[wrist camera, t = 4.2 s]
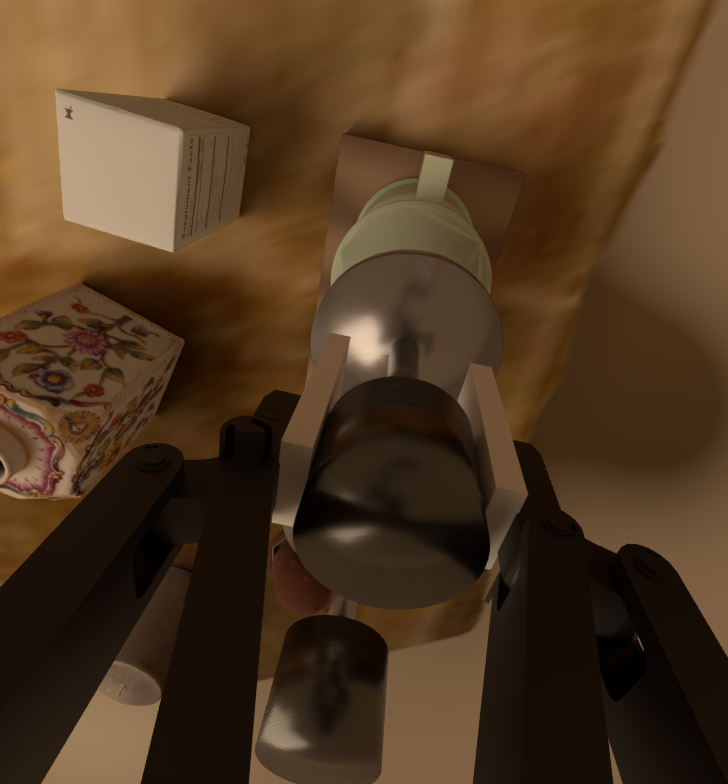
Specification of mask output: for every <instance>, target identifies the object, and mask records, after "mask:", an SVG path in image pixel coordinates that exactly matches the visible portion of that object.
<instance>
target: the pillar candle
mask: <svg viewBox="0 0 728 784" xmlns="http://www.w3.org/2000/svg"><path fill="white" fill-rule="evenodd" d="M190 577H191V572H188V571H186V570H184V569H181V568H178V567H173V566H171V567H170V568H169V570H168V572H167V573H166V575H165V577H164V578H163V580H162V582H161V583H160V585H159V587H158V588H157V590H156V592H155V593H154V595H153V597H152V599H151V600H150V602H149V604H148V605H147V607H146V609H145V610H144V612H143V614H142V615H141V617H140V619H139V620H138V622H137V624H136V625H135V627H134V629H133V630H132V632H131V634H130V635H129V637H128V639H127V640H126V642H125V644H124V645H123V647H122V649H121V650H120V652H119V654H118V655H117V657H116V659H115V660H114V662H113V664H112V666H111V667H110V669H109V671H108V672H107V674H106V676H105V677H104V679H103V681H102V682H101V684H100V686H99V687H98V689H97V691H98V692H100V693H101V694H103V695H104V696H106V697H108V698H110V699H112V700H114V701H117V702H119V703H124V704H127V705H134V706H147V705H151V704H154V703H156V702H157V701H159V700H160V698H161V697H162V693H163V689H164V685H165V681H166V677H167V672H168V668H169V664H170V660H171V656H172V652H173V648H174V643H175V639H176V635H177V631H178V627H179V623H180V618H181V614H182V610H183V606H184V602H185V598H186V594H187V589H188V585H189V581H190Z"/></svg>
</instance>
